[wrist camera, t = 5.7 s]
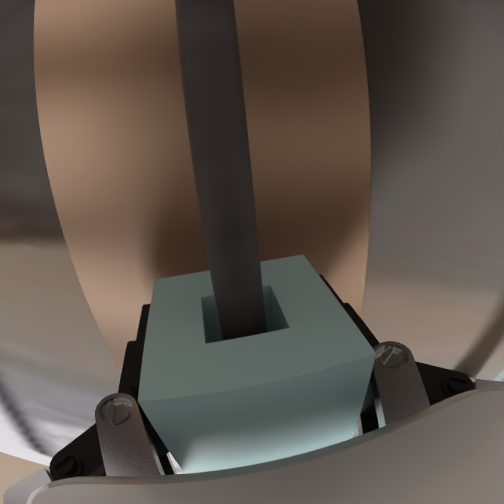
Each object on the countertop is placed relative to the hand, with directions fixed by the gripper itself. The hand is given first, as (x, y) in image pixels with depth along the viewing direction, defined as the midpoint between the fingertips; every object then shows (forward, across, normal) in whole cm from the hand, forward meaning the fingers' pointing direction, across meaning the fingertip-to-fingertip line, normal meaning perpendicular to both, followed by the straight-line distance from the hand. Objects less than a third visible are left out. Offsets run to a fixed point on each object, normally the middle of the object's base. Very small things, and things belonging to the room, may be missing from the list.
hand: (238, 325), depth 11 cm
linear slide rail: (+3, 0, -4) cm, 5 cm away
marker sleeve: (0, 0, 0) cm, 0 cm away
